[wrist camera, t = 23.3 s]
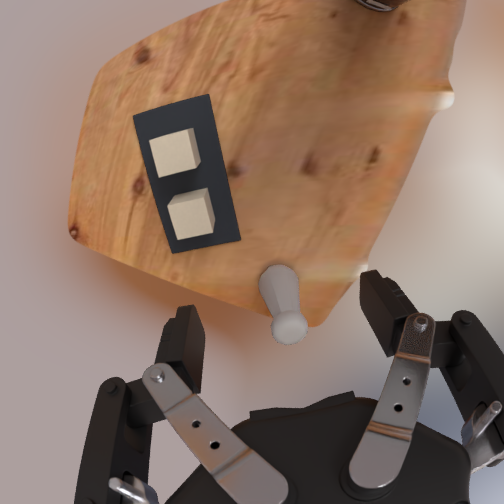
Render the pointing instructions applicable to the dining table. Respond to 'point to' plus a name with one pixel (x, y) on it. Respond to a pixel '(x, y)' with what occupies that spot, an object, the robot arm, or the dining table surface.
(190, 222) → the beige cube block
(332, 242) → the dining table surface
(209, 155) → the word mat
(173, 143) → the beige rounded cube
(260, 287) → the salt shaker
